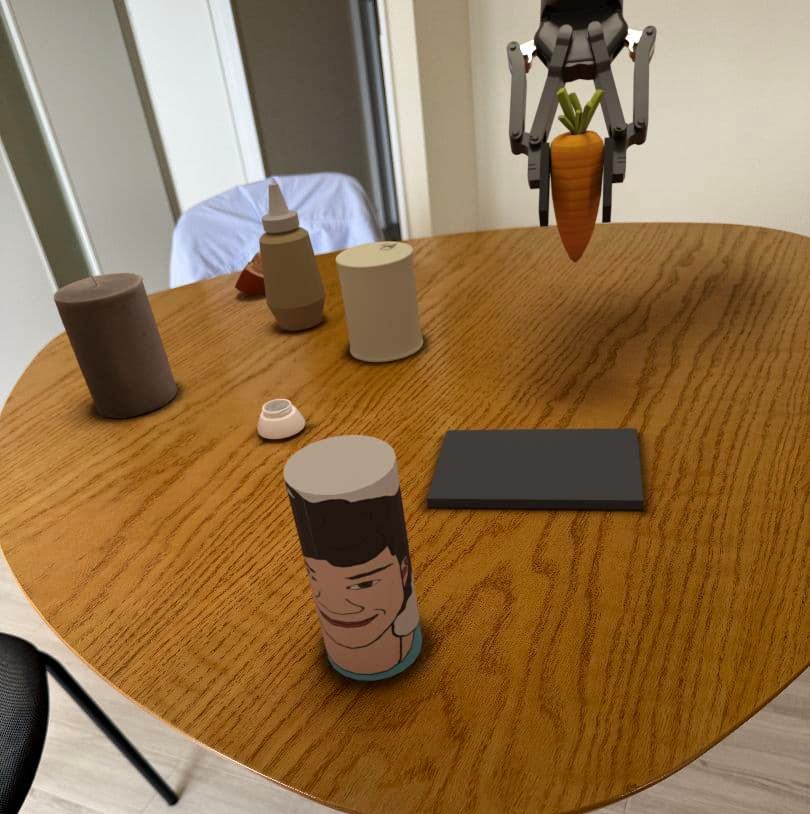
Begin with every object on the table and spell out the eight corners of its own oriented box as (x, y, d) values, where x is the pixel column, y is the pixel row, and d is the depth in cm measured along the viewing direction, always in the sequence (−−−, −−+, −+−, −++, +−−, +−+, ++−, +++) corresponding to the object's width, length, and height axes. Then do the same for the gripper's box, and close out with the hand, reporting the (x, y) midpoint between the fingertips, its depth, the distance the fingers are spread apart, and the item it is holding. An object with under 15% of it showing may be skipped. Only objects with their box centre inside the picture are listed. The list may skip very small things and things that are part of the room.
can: (437, 337, 98) (428, 239, 91) (395, 367, 92) (382, 265, 85) (378, 328, 103) (365, 234, 96) (335, 356, 97) (318, 258, 90)
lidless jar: (256, 425, 84) (262, 446, 80) (250, 400, 83) (255, 421, 79) (301, 415, 85) (309, 435, 81) (296, 390, 83) (304, 410, 79)
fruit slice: (246, 283, 125) (238, 252, 122) (287, 280, 124) (280, 248, 121) (231, 302, 118) (223, 269, 115) (274, 299, 117) (267, 265, 114)
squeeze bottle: (261, 327, 108) (228, 189, 98) (307, 308, 112) (281, 173, 101) (294, 340, 103) (263, 195, 92) (342, 319, 107) (318, 179, 96)
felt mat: (636, 437, 73) (637, 427, 73) (643, 510, 64) (643, 500, 63) (447, 438, 77) (446, 429, 77) (427, 507, 68) (426, 498, 67)
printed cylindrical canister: (310, 643, 56) (263, 464, 47) (386, 600, 59) (355, 423, 50) (361, 696, 51) (320, 509, 42) (441, 647, 54) (418, 461, 45)
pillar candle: (109, 427, 88) (59, 297, 79) (87, 400, 95) (38, 277, 86) (190, 398, 92) (150, 271, 83) (162, 374, 99) (123, 254, 90)
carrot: (607, 254, 77) (613, 78, 68) (594, 271, 73) (598, 89, 64) (557, 252, 79) (557, 82, 70) (542, 269, 75) (540, 92, 66)
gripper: (678, 2, 74) (675, 232, 71) (491, 25, 78) (480, 243, 75) (688, -68, 67) (685, 185, 64) (481, -39, 71) (469, 200, 68)
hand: (574, 216), depth 70 cm, fingers closed on carrot, 5 cm apart
